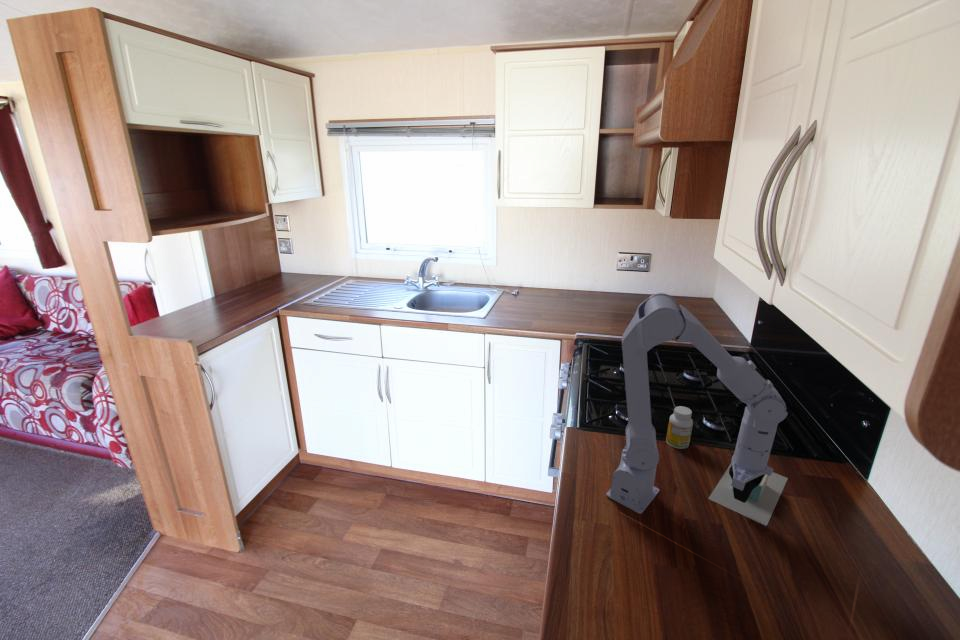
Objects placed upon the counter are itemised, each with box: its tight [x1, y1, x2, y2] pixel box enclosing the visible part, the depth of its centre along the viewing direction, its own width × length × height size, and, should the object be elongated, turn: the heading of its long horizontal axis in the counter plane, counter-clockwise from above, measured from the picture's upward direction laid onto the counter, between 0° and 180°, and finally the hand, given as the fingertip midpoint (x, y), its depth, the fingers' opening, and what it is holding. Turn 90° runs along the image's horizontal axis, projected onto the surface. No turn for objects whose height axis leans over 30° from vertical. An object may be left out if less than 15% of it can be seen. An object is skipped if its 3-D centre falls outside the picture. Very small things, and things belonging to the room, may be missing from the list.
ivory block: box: [732, 474, 769, 502], centre depth 99 cm, size 4×5×7 cm
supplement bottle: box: [665, 405, 694, 450], centre depth 114 cm, size 5×5×10 cm
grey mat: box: [707, 462, 789, 527], centre depth 100 cm, size 19×11×1 cm, turn 137°
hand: (740, 498), depth 93 cm, fingers closed
